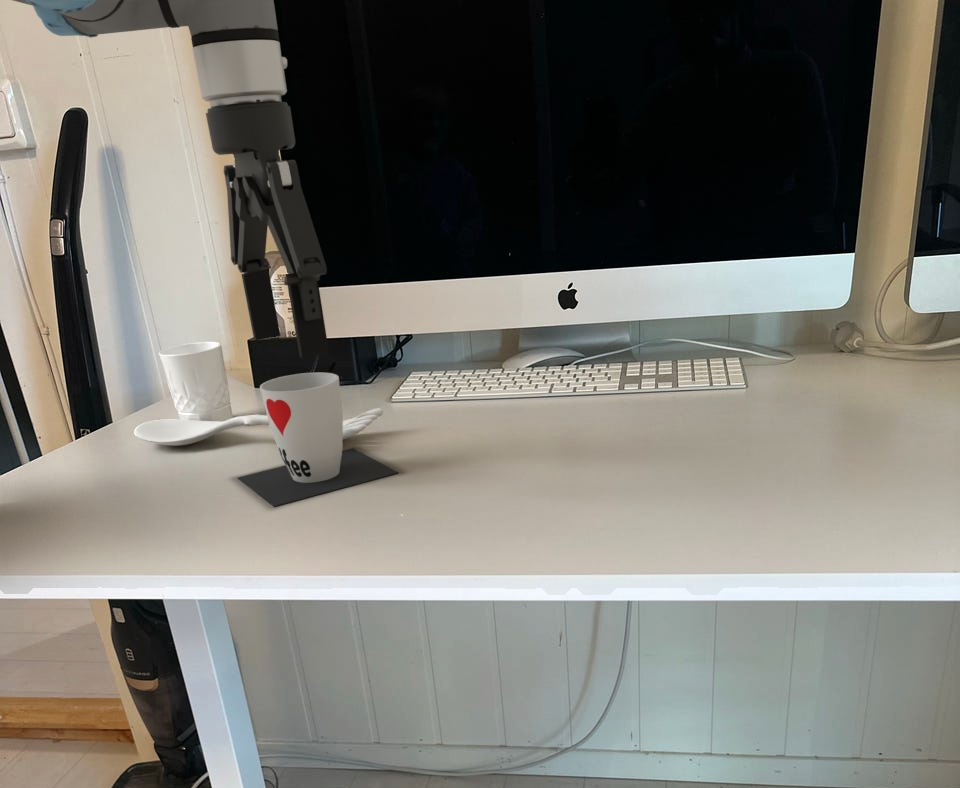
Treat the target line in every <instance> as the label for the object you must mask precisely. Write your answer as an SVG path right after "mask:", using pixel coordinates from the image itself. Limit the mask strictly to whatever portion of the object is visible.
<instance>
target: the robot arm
mask: <svg viewBox="0 0 960 788" xmlns="http://www.w3.org/2000/svg"><path fill="white" fill-rule="evenodd" d="M13 1H14V2H17V3H20V4H25V5H29V6H32V7H33V10H34V11H35V13H36V15H37V17H38V19H40V20H41V23H42V24H43V26H44V27H45V28H46V30H48V31H49V32H50V33H52V34H54V35H57V36H59V37H74V36H75V37H76V36H79V37H88V38H90V39H91V38H96V37H98V36H99V35H106V34H116V33H126V32H137V31H145V30H155V29H156V30H157V29H164V28H165V29H166V28H170V29H175V28H181V27H188V30H189V33H190V39H191V45H192V53H193V59H194V64H195V69H196V74H197V81H198V85H199V90H200V95H201V99H202V100H204V101H205V102H209V104H210V108H207V112H205V117H206V122H207V128H208V133H209V138H210V142H211V148H212V150H213V152H214V153H215V154H216V155H219V156H224V155H225V156H226V155H232V156H233V158H234V164H227V165H223V175H224V180H225V186H226V196H227V210H228V211H227V213H228V214H227V215H228V229H229V230H228V231H229V242H230V243H229V246H230V261H231V263H232V264H233V266H237V269H238V271H239V273H241V279H242V284H243V289H244V294H245V300H246V305H247V310H248V315H249V320H250V325H251V330H252V336H253V340H255V341H258V340H264V339H271V338H276V337H281V331H280V325H279V320H278V315H277V309H276V308H277V307H276V303H275V299H274V292H273V288H272V287H273V286H272V281H271V276H270V271H269V270H270V269H271V268H272V266H271V264H270V262H269V260H268V258H267V257H266V251H267V238H268V229H269V231H270V233H271V236H272V238H273V241H274V244H275V246H276V248H277V250H278V253H279V255H280V258H281V260H282V262H283V265H284V266H285V269H286V272H287V273H286V274H285V276H284V280H283V281H284V282H283V284H284V285H285V286H287V290H288V297H289V302H290V308H291V314H292V319H293V325H294V331H295V337H296V344H297V349H298V355H299V358H301V359H305V358H311V357H316V356H321V355H326V354H330V351H329V345H328V337H327V336H328V335H327V330H326V324H325V318H324V311H323V305H322V298H321V292H320V286H319V285H320V284H319V281H320V280H321V276H323V275H327V273H328V267H327V264H326V261H325V258H324V254H323V252H322V248H321V246H320V242H319V239H318V236H317V233H316V229H315V226H314V223H313V219H312V217H311V213H310V210H309V207H308V204H307V201H306V198H305V195H304V192H303V189H302V185H301V179H300V174H299V173H300V172H299V169H298V168H299V167H298V165H297V162H296V160H295V159H288V160H287V159H286V160H282V159H281V156H280V151H281V150H291V149H293V148H294V147H295V145H296V136H295V131H294V122H293V117H292V110H291V105H288V102H286V101H282V97H283V96H285V95H286V94H287V92H288V89H287V82H286V75H285V69H287V68H288V59H287V58H286V57H285V56H282V50H281V43H280V37H279V32H278V31H279V29H278V21H277V15H276V8H275V3H274V2H275V1H274V0H12V2H13Z"/></svg>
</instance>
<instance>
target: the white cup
mask: <svg viewBox="0 0 960 788" xmlns="http://www.w3.org/2000/svg"><path fill="white" fill-rule="evenodd" d="M158 356H159V359H160V362H161V367H162V370H163V372H164V377H165V380H166V383H167V386H168V389H169V391H170V392H169V393H170V395H171V398H172V402H173V405H174V407H175V409H176V411H177V416H178V419H186V420H199V421H220V422H224V421H226V420H228V419H231V418H234V416H233V410H232V405H231V394H230V390H229V383H228V376H227V370H226V366H225V365H226V364H225V359H224V354H223V348H222V344H221V342H218V341H197V342H189V343H183V344H177V345H174V346H169V347H166V348H163V349H162V350H161V349H160V351H159V352H158Z"/></svg>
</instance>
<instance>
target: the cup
mask: <svg viewBox="0 0 960 788" xmlns="http://www.w3.org/2000/svg"><path fill="white" fill-rule="evenodd" d="M259 390H260V394H261V398H262V402H263V406H264V409H265V413H266V415H267V417H268V421H269V425H268V426H269V428H270V430H271V433H272V437H273V439H274V441H275V444H276V446H277V449H278V453H279V455H280V457H281V460H282V461H283V464H284V466H285V465H286V467H287V469H288V471H289V473H290V474H291V476H292V478H293V480H295V481H297V482H302V483H311V482H319V481H324V480H328V479H331V478H333V477H335V476H337V475H338V474H339V470H340V463H341V456H342V451H343V446H344V445H343V440H344V439H343V421H344V420H343V419H344V418H343V407H342V396H341V385H340V377H339V375H338V374H335V373H332V372H304V373H295V374H290V375H283V376H279V377H276V378H272V379H269V380H267V381H265V382H263V383H262V384H260V385H259Z"/></svg>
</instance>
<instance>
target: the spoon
mask: <svg viewBox="0 0 960 788" xmlns="http://www.w3.org/2000/svg"><path fill="white" fill-rule="evenodd" d="M383 414H384V410H383V409H382V408H380V407H377V408H376V407H375V408H373V409H370V410H367V411H365V412H363V413H361V414H359V415H357V416H355V417H353V418H349V419H344V420H343V440H345V439H349V438H352V437H353V436H355V435H357V434H359V433H360V432H362V431H364V430H365V429H366V428H367V427H369V426H370V425H372V424H373V422H374V421H376V420H377V419H378V418H380V417H381V416H383ZM239 426H247V427H254V426H270V425H269V421H268V417H267V414H266V415H262V414H260V413H259V414H251V415H250V414H249V415H239V416H234V417H233V418H231V419H228V420H226V421H224V422H220V421H199V420H186V419H179V418H162V419H161V418H160V419H154V420H148V421H145V422H142V423H141V424H138V425H137V426H136V427H135V428H134V430H133V434H134V436H135V437H136V438H138V439H140V440H142V441H145V442H148V443H152V444H155V445H161V446H177V447H178V446H179V447H181V446H187V445H188V446H189V445H192V444H196V443H198V442H200V441H204V440H207V439H209V438H210V437H213V436H215V435H217V434H219V433H221V432H224V431H226V430H228V429H230V428H231V429H232V428H233V427H239Z"/></svg>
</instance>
